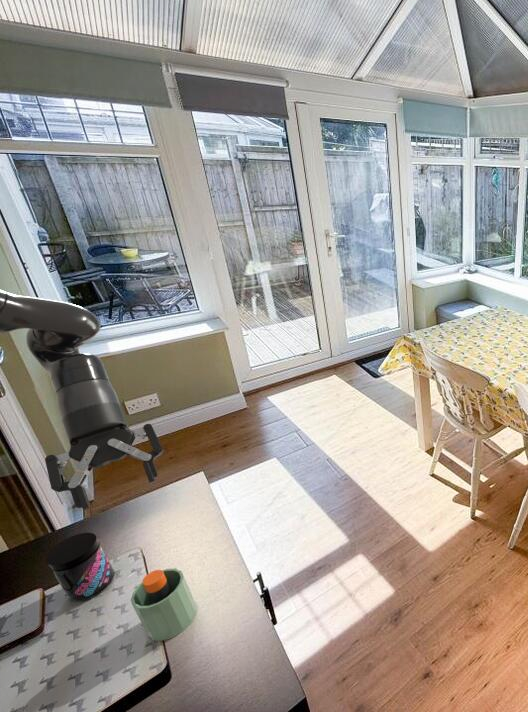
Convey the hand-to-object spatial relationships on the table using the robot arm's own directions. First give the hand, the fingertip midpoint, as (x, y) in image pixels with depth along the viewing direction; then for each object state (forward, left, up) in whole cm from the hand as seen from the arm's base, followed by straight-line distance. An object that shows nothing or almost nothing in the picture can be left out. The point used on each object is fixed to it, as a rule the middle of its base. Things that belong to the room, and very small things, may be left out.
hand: (121, 495), depth 71 cm
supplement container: (-12, +5, -23) cm, 26 cm away
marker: (+3, -9, -22) cm, 25 cm away
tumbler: (+3, -9, -23) cm, 25 cm away
